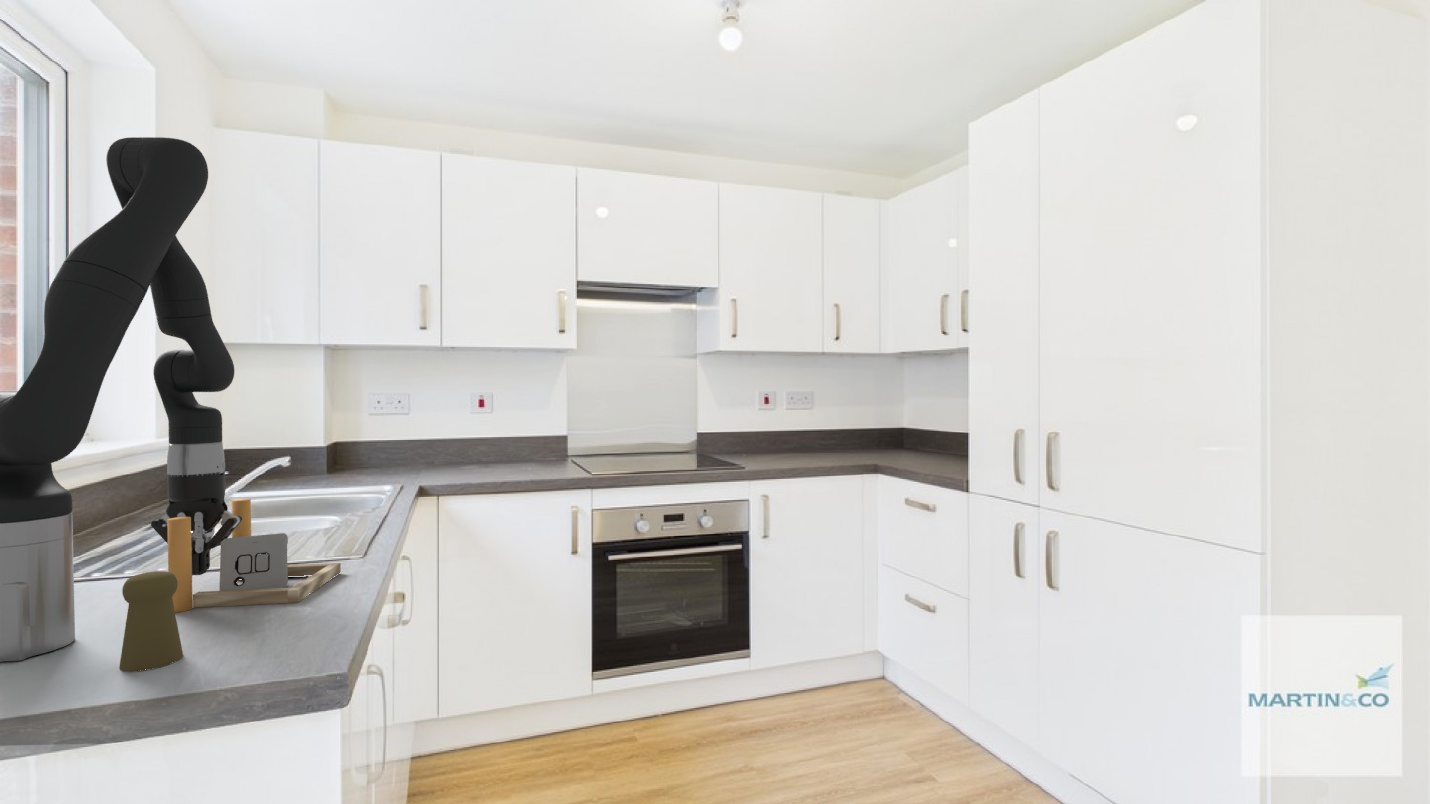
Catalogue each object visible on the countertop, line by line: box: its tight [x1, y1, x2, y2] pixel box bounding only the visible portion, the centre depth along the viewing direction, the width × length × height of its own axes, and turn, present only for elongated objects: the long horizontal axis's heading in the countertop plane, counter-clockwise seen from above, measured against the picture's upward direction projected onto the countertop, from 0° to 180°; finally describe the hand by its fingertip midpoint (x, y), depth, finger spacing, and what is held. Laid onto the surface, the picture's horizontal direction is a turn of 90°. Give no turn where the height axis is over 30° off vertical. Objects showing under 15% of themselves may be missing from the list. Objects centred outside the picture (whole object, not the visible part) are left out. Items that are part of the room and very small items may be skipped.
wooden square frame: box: [192, 562, 342, 608], centre depth 112 cm, size 16×15×2 cm
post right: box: [231, 498, 252, 581], centre depth 118 cm, size 3×3×14 cm
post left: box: [167, 517, 194, 614], centre depth 101 cm, size 3×3×14 cm
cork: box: [118, 570, 184, 673], centre depth 82 cm, size 6×6×11 cm
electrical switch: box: [218, 532, 289, 591], centre depth 112 cm, size 9×5×9 cm, turn 119°
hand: (198, 574), depth 110 cm, fingers closed
